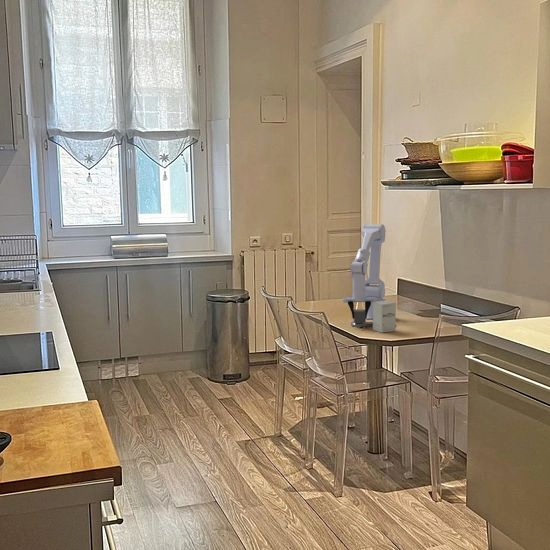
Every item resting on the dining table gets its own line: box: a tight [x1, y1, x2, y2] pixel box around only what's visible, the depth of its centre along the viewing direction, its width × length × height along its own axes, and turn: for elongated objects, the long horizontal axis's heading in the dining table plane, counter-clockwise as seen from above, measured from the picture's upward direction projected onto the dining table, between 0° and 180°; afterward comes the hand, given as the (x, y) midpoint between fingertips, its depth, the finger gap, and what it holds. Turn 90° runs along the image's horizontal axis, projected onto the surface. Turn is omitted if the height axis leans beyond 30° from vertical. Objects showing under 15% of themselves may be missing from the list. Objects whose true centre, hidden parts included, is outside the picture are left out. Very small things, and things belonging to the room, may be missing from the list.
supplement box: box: [372, 299, 397, 333], centre depth 304 cm, size 7×7×13 cm
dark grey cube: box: [353, 308, 367, 323], centre depth 315 cm, size 5×5×5 cm
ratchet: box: [350, 321, 373, 328], centre depth 315 cm, size 19×8×4 cm, turn 87°
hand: (359, 318), depth 315 cm, fingers closed on dark grey cube, 5 cm apart
